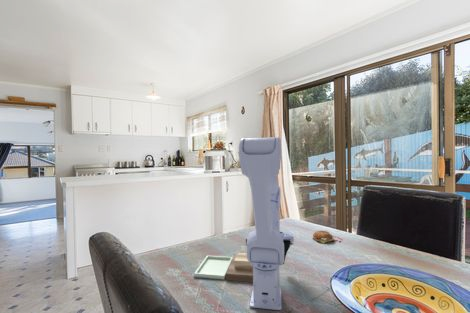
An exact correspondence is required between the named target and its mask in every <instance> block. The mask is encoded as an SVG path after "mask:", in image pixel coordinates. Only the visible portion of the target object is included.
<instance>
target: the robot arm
mask: <svg viewBox="0 0 470 313" xmlns="http://www.w3.org/2000/svg"><path fill="white" fill-rule="evenodd" d="M238 156H239V165H240V166H239V167H240V170H241V174H242V175H244V176H245V177H247V178H248V181H249V185H250V189H251V200H252V209H253V218H254V227H255V229H254V230H252V231H251V232H248V235H247V238H246V239H247V245H246V253H247V260H248V261H249V262H251V266H252V267H253V282H252V292H251V297H250V302H249V307H250V308H256V309H264V310H266V309H267V310H274V311H282V288H281V287H280V286H281V285H280V283H281V282H280V278H281V277H280V267H281V266H283V265H285V261H286V256H287V253H288V251H289V249H290V247H291V243H294V241H295V240H294V238H295V236H294V234H292V233H284V232H283V233H280V232H281V231H280V230H281V229H280V228H281V227H280V207H281V197H282V195H281V191H282V190H281V187H280V186H279V183H278V175H279V174H280V170H281V163H282V162H281V160H282V140H281V138H280V137H279V136H274V137H272V136H271V137H242V138H241V140H239V145H238Z"/></svg>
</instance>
